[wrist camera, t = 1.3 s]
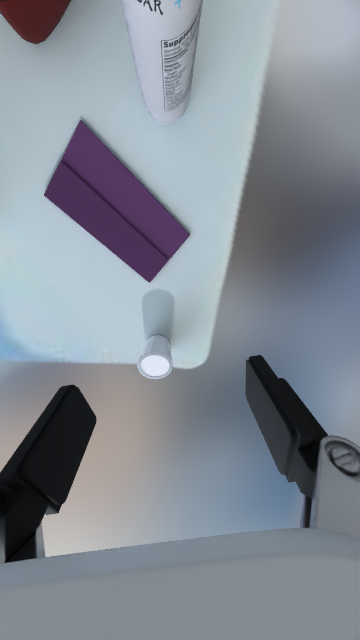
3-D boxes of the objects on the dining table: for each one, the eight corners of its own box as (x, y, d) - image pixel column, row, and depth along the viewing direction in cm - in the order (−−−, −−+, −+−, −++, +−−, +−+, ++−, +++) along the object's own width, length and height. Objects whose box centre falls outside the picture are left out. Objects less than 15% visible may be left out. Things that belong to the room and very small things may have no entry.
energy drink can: (165, 41, 21) (154, -309, 7) (198, 97, 23) (238, -93, 9) (132, 93, 22) (74, -112, 9) (166, 140, 24) (160, 31, 11)
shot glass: (160, 327, 38) (158, 346, 32) (178, 348, 41) (179, 369, 34) (136, 342, 39) (129, 363, 33) (154, 361, 42) (151, 384, 36)
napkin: (45, 195, 27) (42, 194, 26) (81, 121, 23) (79, 118, 23) (149, 282, 33) (149, 283, 33) (189, 234, 30) (190, 234, 29)
